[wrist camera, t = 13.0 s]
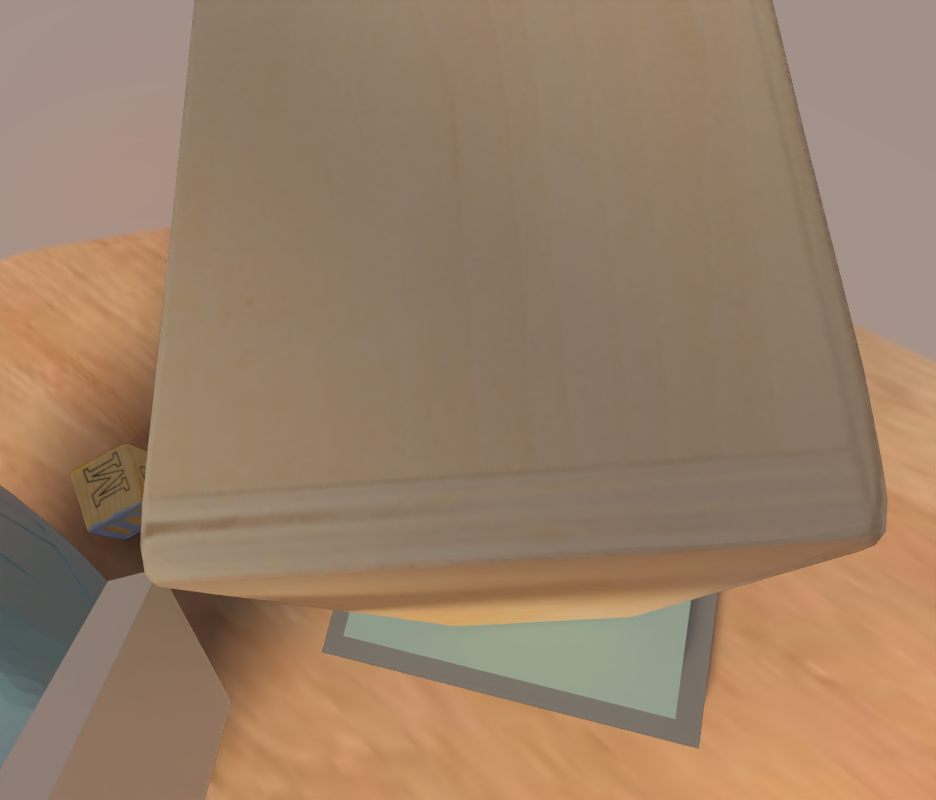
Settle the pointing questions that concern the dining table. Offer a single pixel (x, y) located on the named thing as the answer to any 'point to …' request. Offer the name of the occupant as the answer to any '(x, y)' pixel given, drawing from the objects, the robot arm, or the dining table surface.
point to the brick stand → (558, 662)
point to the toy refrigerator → (500, 314)
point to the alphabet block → (112, 492)
